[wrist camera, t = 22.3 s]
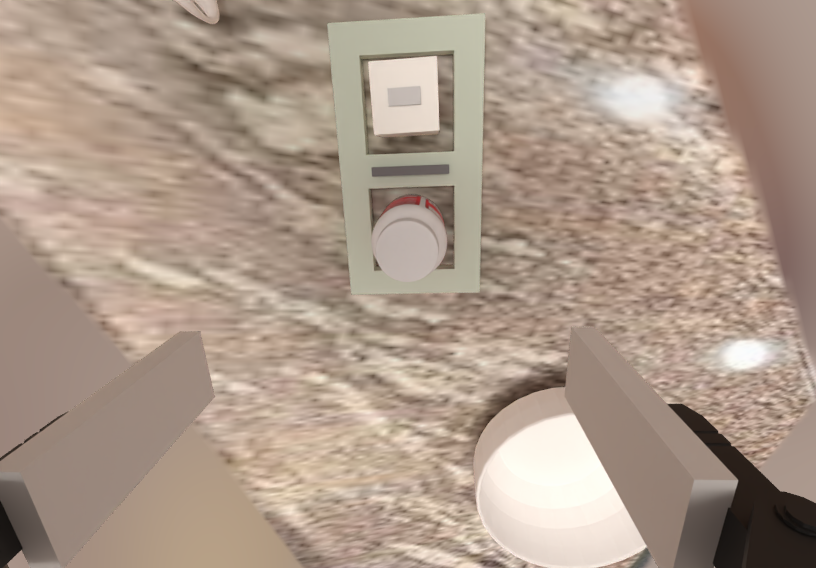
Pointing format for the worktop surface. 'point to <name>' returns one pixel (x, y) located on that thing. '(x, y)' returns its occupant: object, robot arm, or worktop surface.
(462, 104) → the faceplate
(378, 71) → the block
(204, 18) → the mug
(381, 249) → the pill bottle
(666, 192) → the worktop surface
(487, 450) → the bowl
